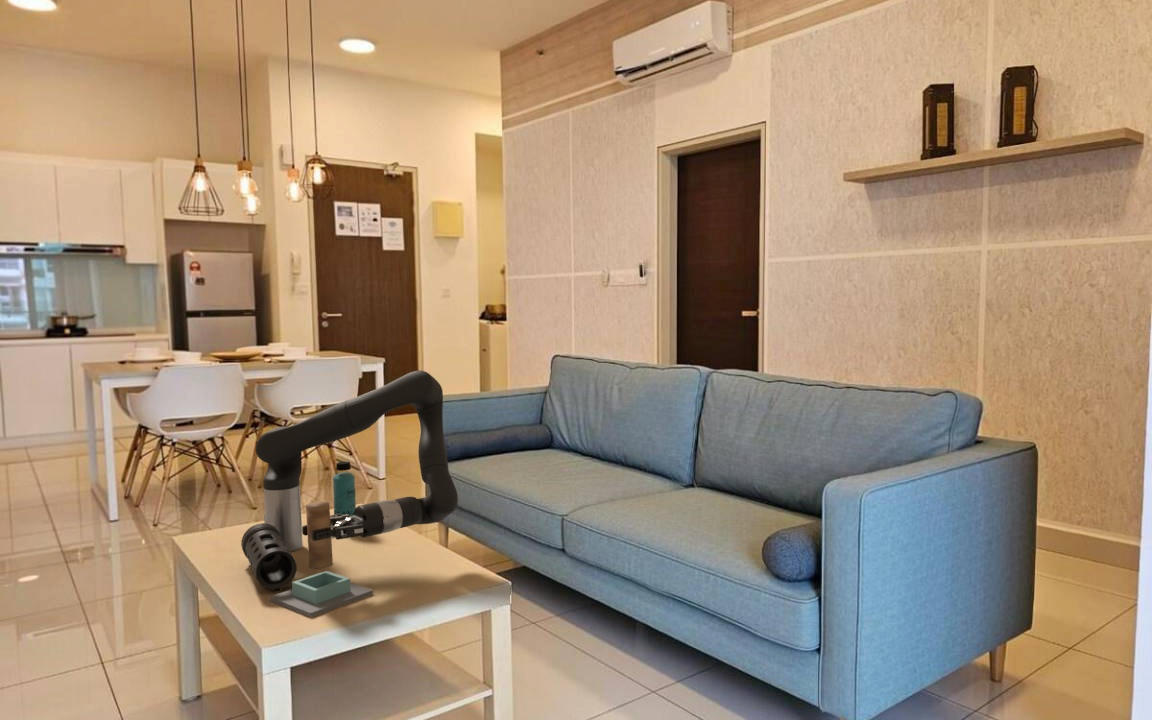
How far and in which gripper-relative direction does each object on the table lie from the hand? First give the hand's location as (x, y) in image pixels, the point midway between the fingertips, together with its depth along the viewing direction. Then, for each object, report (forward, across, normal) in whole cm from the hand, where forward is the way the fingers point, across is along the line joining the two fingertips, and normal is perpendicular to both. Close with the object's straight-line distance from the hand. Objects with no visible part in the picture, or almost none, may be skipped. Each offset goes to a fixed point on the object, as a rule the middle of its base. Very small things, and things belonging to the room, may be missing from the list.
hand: (307, 533), depth 173 cm
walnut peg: (-3, 0, +8) cm, 8 cm away
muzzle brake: (+2, -24, +16) cm, 29 cm away
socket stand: (-2, 0, +15) cm, 16 cm away
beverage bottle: (-29, -49, +16) cm, 59 cm away
